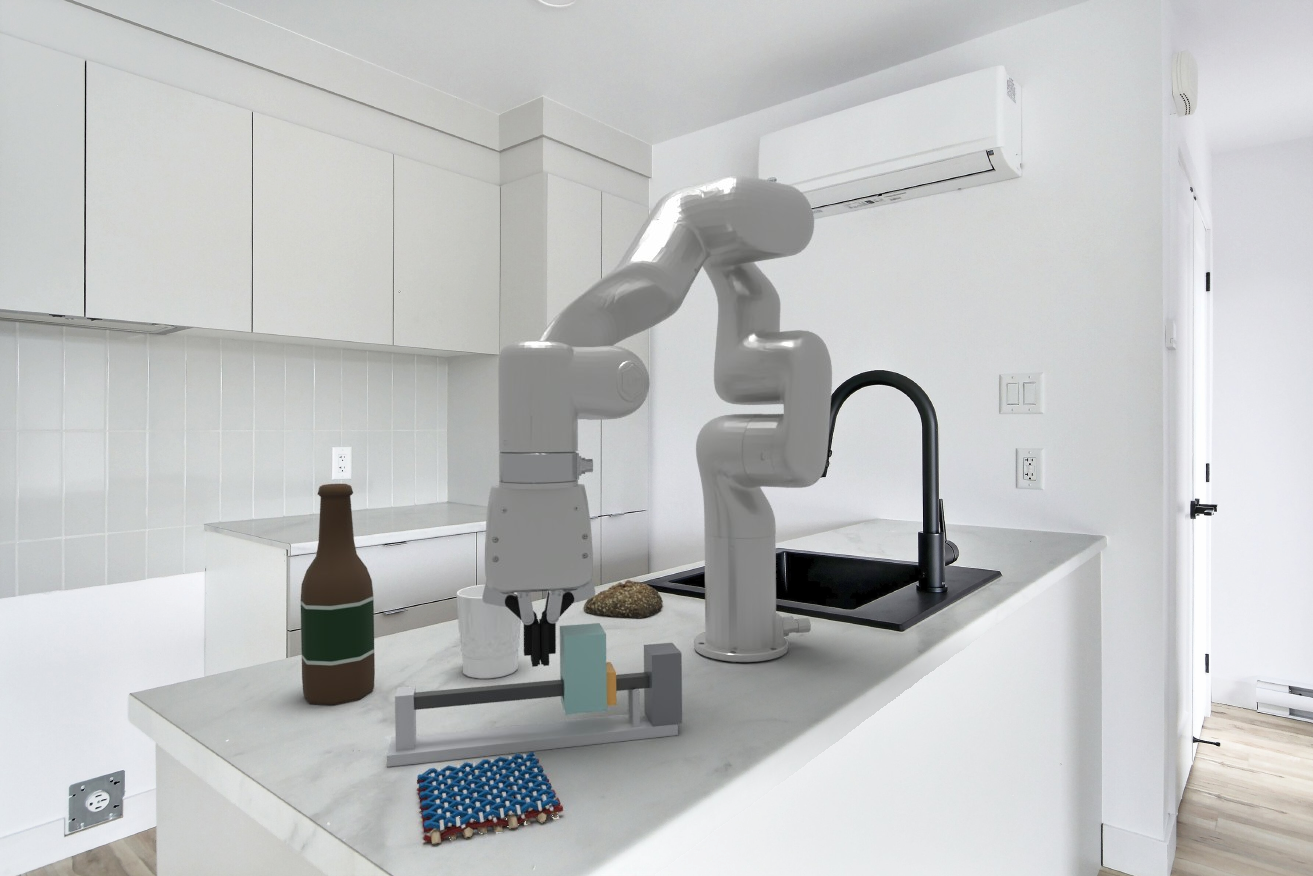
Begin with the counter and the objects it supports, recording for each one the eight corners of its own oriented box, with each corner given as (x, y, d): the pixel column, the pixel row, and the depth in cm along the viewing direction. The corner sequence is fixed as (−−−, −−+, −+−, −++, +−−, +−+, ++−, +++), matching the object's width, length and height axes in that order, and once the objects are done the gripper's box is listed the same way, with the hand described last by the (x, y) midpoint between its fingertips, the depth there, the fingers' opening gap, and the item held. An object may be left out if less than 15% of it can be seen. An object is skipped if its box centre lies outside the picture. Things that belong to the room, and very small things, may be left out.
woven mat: (567, 826, 58) (567, 800, 58) (424, 856, 54) (423, 828, 54) (538, 768, 68) (538, 746, 68) (415, 790, 64) (415, 767, 64)
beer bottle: (329, 711, 81) (325, 488, 80) (286, 698, 85) (282, 485, 84) (389, 689, 87) (386, 483, 87) (347, 678, 92) (344, 481, 91)
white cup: (507, 682, 89) (506, 598, 89) (446, 679, 91) (445, 596, 91) (531, 662, 97) (530, 584, 97) (474, 659, 99) (473, 582, 98)
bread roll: (643, 623, 116) (642, 591, 116) (574, 615, 122) (574, 585, 122) (676, 605, 128) (676, 576, 128) (612, 598, 133) (612, 570, 133)
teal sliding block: (600, 696, 76) (599, 623, 76) (606, 710, 72) (606, 633, 72) (560, 699, 75) (559, 625, 75) (565, 714, 71) (564, 636, 71)
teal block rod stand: (672, 719, 78) (671, 642, 78) (682, 734, 74) (682, 653, 74) (391, 748, 71) (390, 664, 71) (386, 766, 67) (385, 678, 67)
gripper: (609, 468, 78) (610, 646, 78) (459, 470, 74) (460, 656, 74) (622, 472, 70) (623, 668, 70) (456, 475, 67) (458, 680, 67)
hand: (539, 661), depth 72 cm, fingers closed
